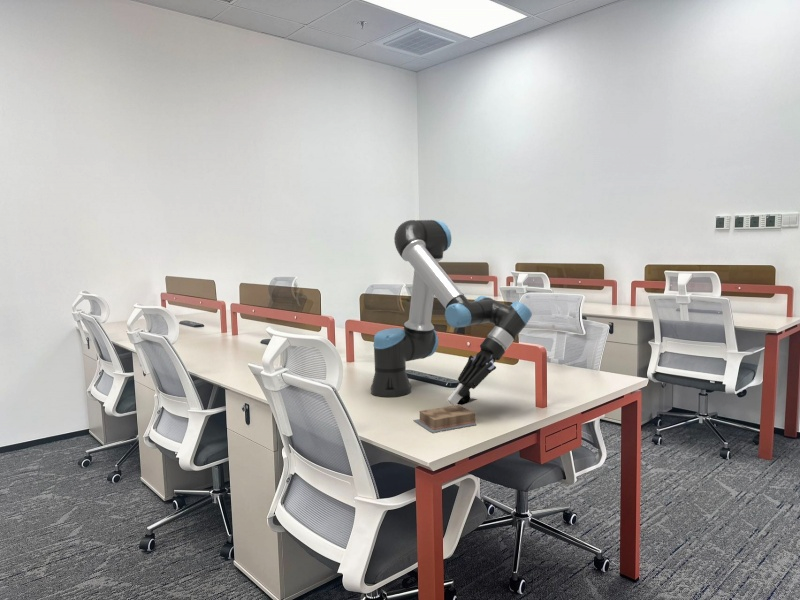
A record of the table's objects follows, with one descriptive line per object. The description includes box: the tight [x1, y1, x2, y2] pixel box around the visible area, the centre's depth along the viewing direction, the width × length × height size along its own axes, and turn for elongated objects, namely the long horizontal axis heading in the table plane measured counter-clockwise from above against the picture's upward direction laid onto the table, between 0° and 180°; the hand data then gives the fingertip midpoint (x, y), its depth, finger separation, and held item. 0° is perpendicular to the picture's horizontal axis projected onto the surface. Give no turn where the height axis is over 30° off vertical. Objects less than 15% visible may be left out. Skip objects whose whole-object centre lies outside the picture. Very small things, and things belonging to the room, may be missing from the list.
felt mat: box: [412, 418, 477, 434], centre depth 171 cm, size 13×15×1 cm
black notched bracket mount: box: [456, 389, 478, 406], centre depth 195 cm, size 12×7×5 cm, turn 137°
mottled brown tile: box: [419, 404, 476, 430], centre depth 172 cm, size 10×3×14 cm
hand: (451, 402), depth 172 cm, fingers closed
